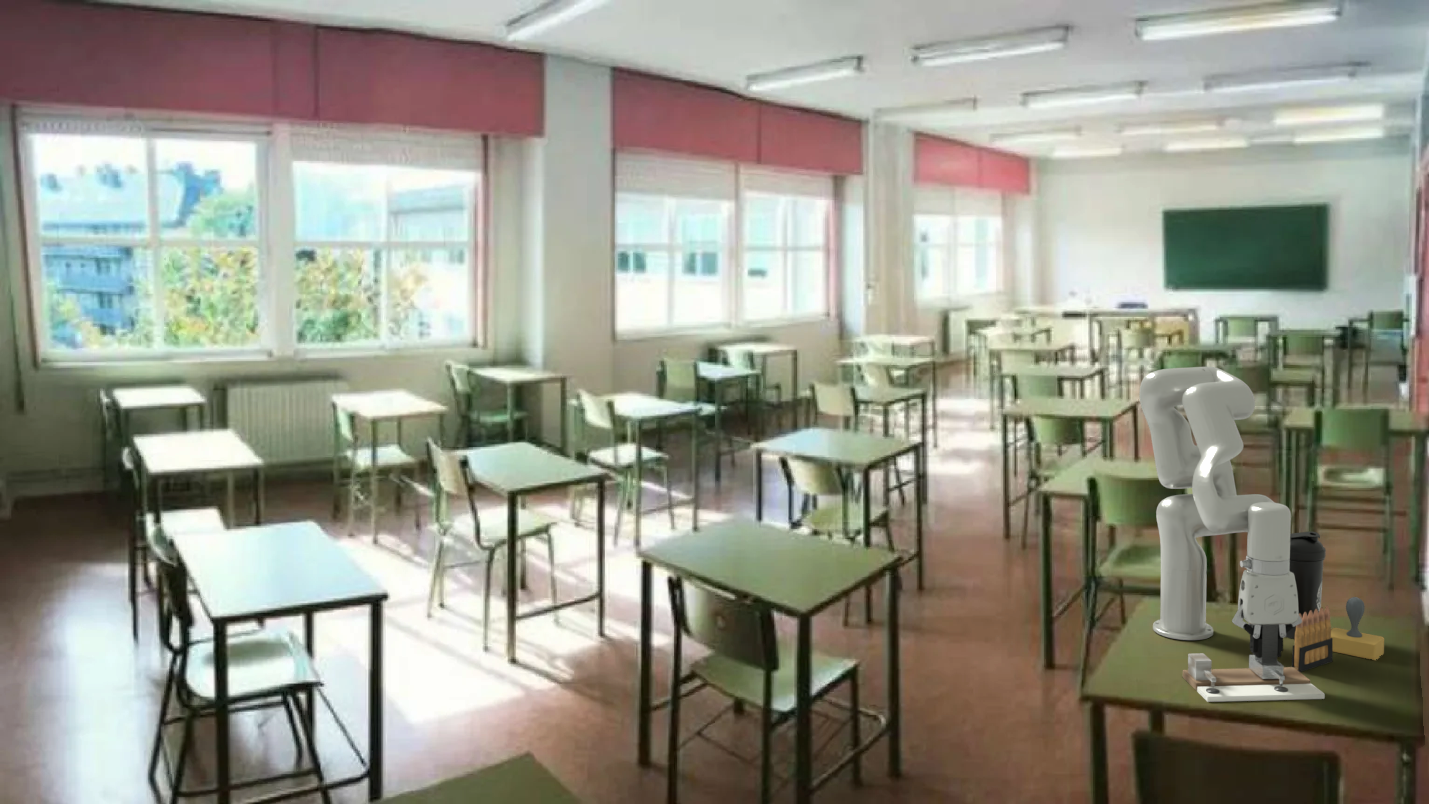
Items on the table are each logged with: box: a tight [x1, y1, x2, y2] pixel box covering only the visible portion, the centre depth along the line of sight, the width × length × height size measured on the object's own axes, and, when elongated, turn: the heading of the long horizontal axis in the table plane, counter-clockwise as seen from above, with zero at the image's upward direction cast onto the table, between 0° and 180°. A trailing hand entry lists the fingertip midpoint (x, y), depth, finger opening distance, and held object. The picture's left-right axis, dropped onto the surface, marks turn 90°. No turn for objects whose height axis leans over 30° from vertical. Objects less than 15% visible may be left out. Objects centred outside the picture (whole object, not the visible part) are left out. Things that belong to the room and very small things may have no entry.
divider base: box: [1182, 652, 1311, 692], centre depth 217 cm, size 10×22×6 cm, turn 88°
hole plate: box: [1196, 683, 1326, 703], centre depth 212 cm, size 5×22×1 cm, turn 88°
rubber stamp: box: [1331, 596, 1385, 661], centre depth 232 cm, size 10×6×12 cm, turn 43°
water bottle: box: [1285, 531, 1327, 640], centre depth 243 cm, size 10×10×23 cm
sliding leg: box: [1248, 624, 1285, 686], centre depth 216 cm, size 10×4×11 cm, turn 178°
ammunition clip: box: [1291, 605, 1334, 673], centre depth 225 cm, size 11×2×12 cm, turn 117°
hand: (1266, 654), depth 218 cm, fingers closed on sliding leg, 3 cm apart
